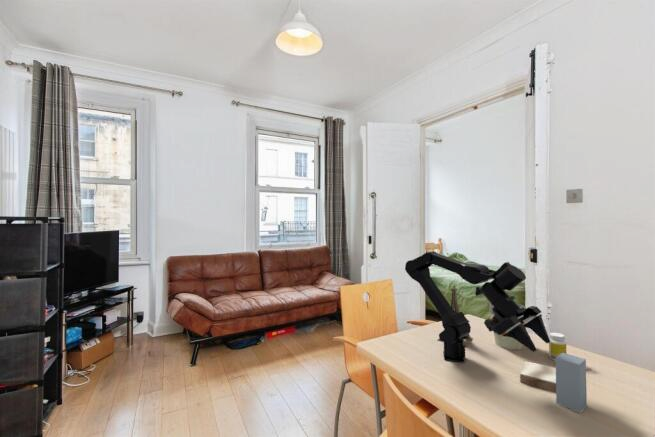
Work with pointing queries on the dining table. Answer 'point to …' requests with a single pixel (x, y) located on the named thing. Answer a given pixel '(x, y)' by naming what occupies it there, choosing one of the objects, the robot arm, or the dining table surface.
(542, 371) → the plinth
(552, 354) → the supplement bottle
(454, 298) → the eiffel tower
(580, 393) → the slate block
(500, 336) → the reusable coffee cup
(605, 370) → the dining table surface
